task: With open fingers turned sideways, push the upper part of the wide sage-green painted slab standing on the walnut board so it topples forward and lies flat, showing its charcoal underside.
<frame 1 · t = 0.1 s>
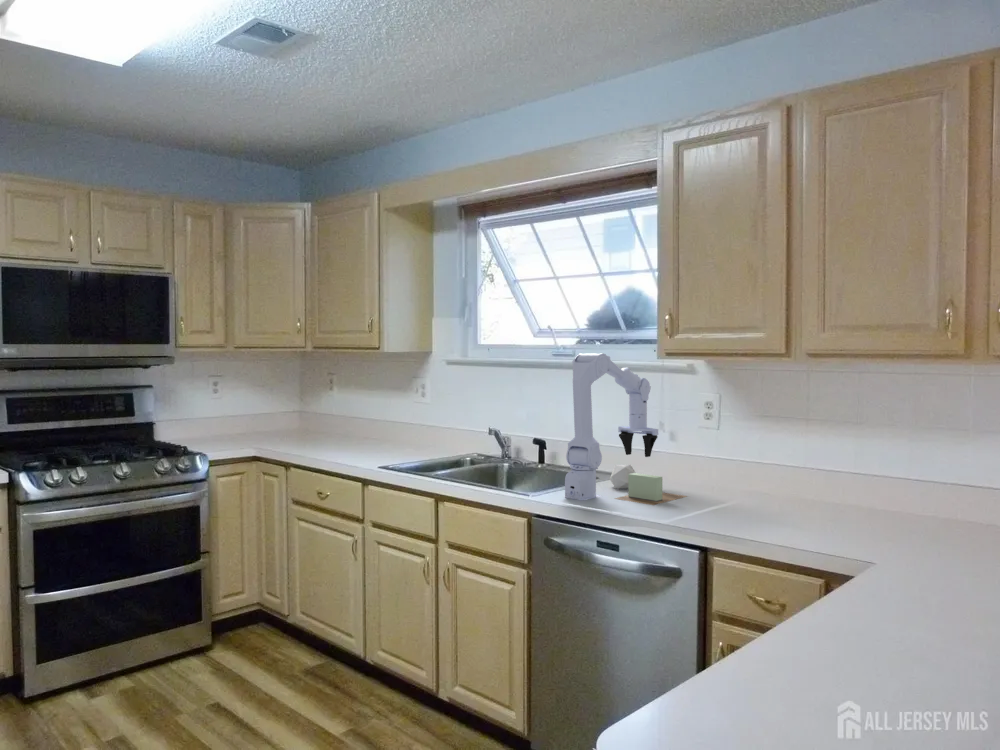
hand: (638, 455, 253), 10 cm above the counter, tool pointing down, fingers open, 7 cm apart
sage slab: (645, 498, 229), point 1 cm above the counter, touching walnut board
die: (623, 489, 248), on the counter
walnut board: (651, 499, 231), on the counter
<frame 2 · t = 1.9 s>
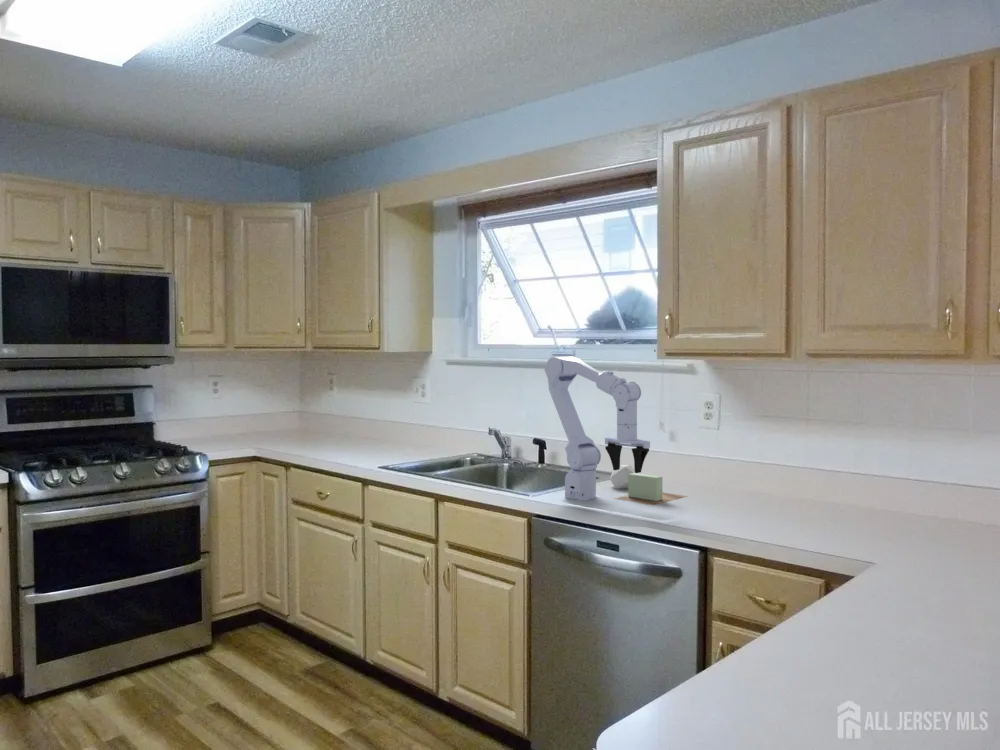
hand: (627, 471, 222), 10 cm above the counter, tool pointing down, fingers open, 7 cm apart
nothing on the counter moved.
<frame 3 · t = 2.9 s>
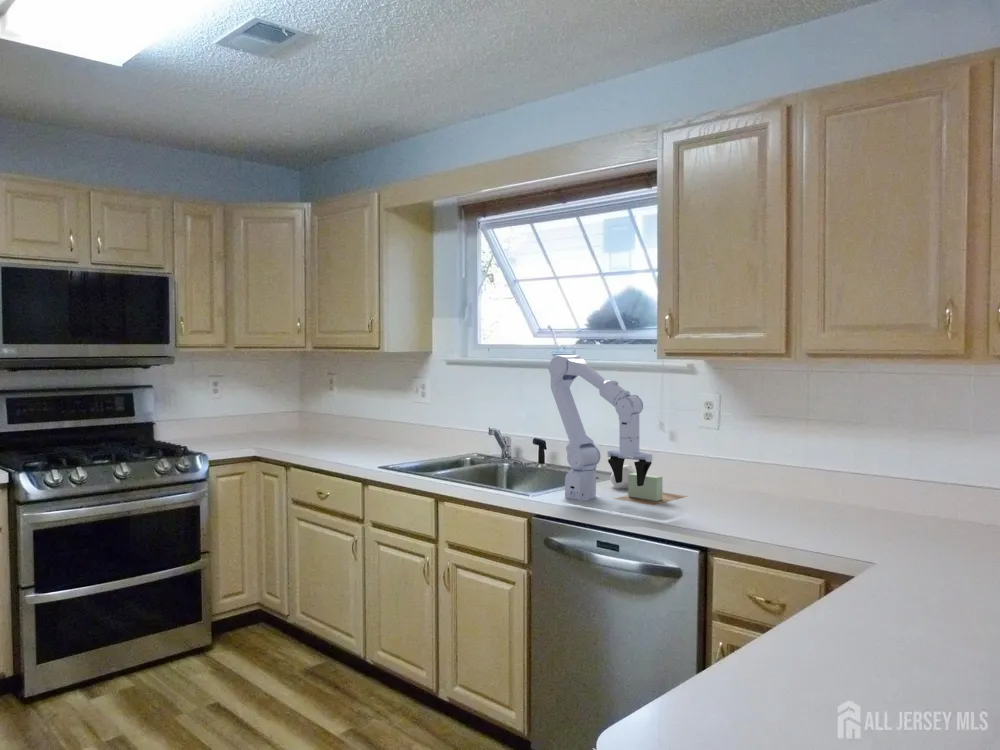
hand: (629, 484, 223), 6 cm above the counter, tool pointing down, fingers open, 7 cm apart
nothing on the counter moved.
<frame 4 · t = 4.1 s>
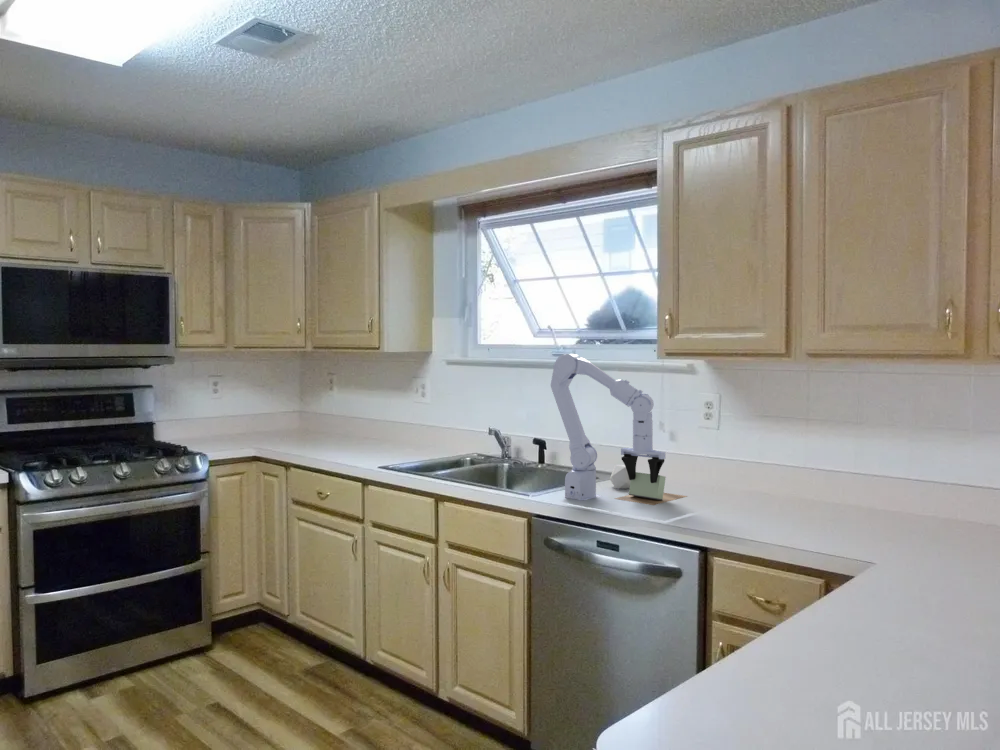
hand: (642, 481, 228), 6 cm above the counter, tool pointing down, fingers open, 7 cm apart
sage slab: (645, 497, 229), point 1 cm above the counter, tilted 14°, touching walnut board
everything else where it was.
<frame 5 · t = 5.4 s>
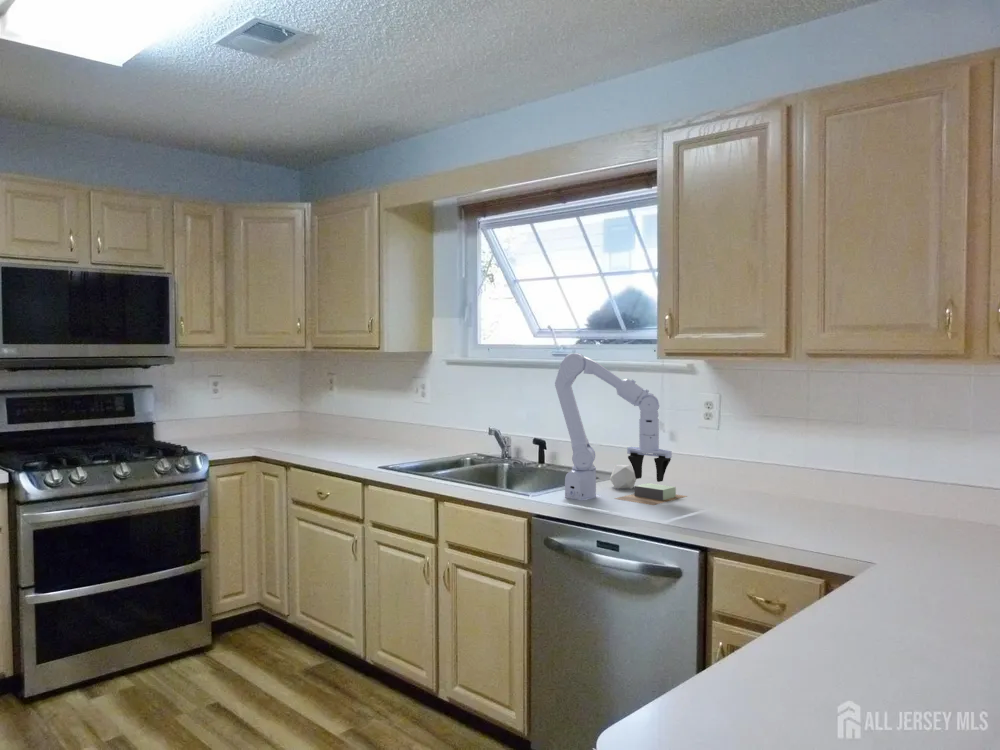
hand: (649, 479, 230), 6 cm above the counter, tool pointing down, fingers open, 7 cm apart
sage slab: (648, 493, 230), point 2 cm above the counter, tilted 90°, touching walnut board
everything else where it was.
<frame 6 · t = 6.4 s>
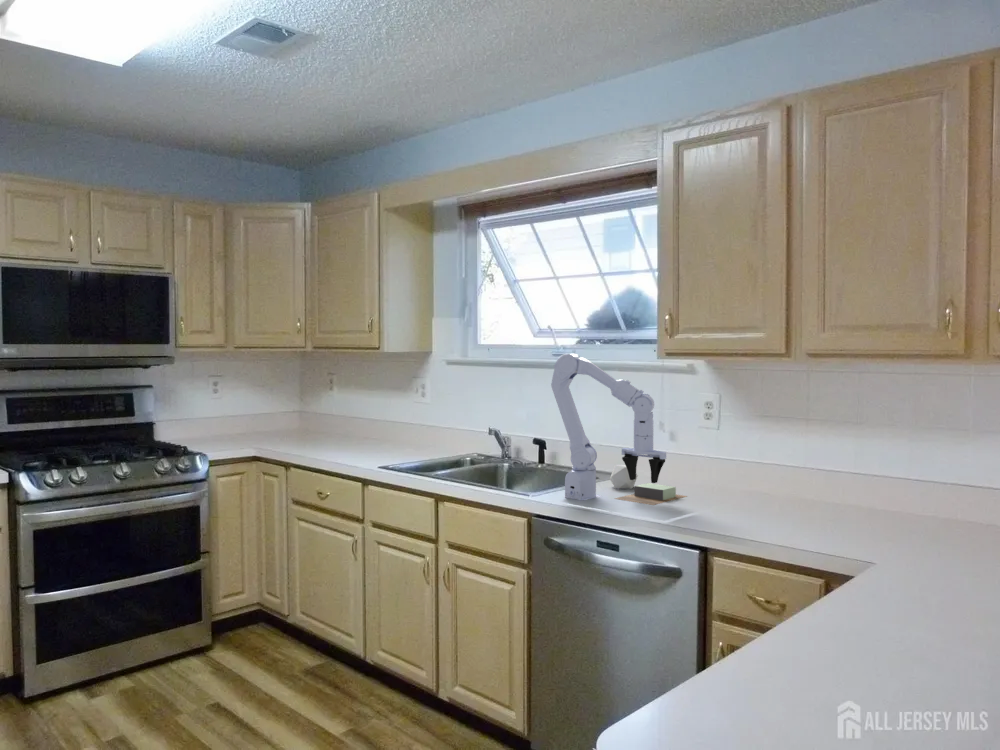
hand: (643, 481, 228), 6 cm above the counter, tool pointing down, fingers open, 7 cm apart
nothing on the counter moved.
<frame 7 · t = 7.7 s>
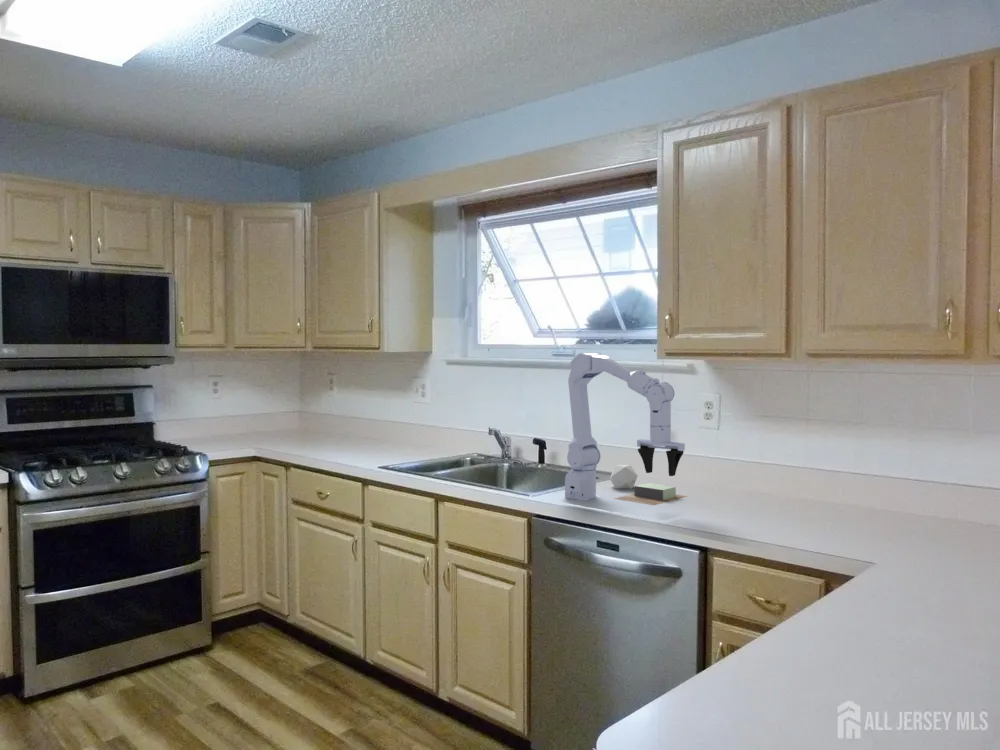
hand: (660, 474, 216), 10 cm above the counter, tool pointing down, fingers open, 7 cm apart
nothing on the counter moved.
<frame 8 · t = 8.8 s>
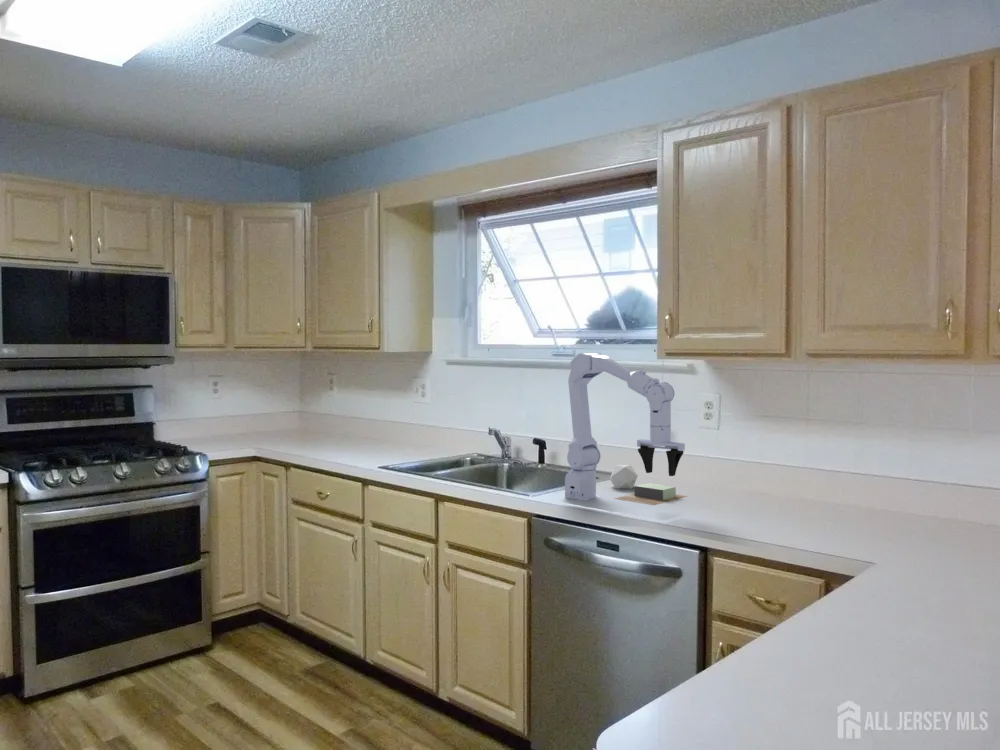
hand: (660, 474, 216), 10 cm above the counter, tool pointing down, fingers open, 7 cm apart
nothing on the counter moved.
at the end: sage slab tilted 90°; sage slab inside the target area (5.0 cm from its centre), point 2.1 cm above the counter; sage slab moved 2.1 cm from its start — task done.
